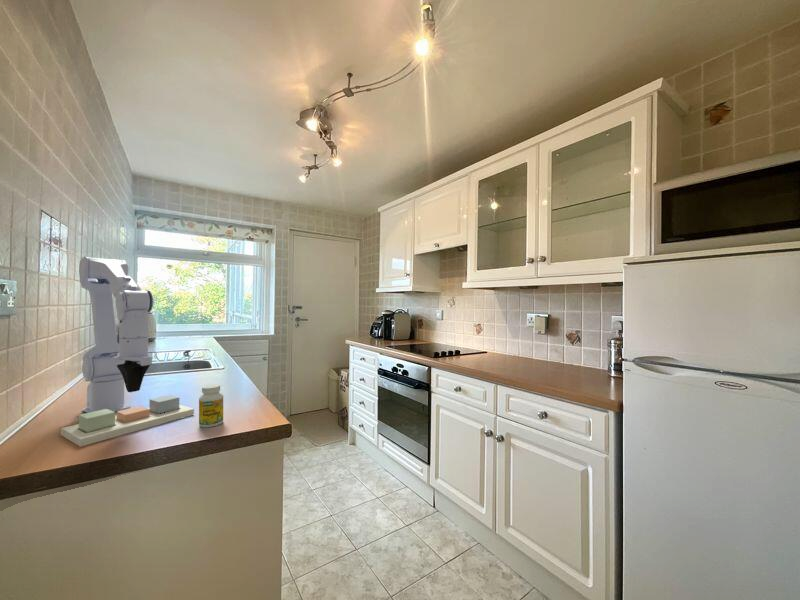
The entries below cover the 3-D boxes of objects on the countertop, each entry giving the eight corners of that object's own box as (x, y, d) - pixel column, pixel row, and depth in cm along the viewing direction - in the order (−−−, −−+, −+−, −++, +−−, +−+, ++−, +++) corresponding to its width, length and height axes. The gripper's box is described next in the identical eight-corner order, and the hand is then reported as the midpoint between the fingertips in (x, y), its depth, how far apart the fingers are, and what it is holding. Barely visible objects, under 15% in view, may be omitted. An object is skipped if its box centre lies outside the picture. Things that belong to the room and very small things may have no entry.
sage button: (78, 427, 75) (78, 414, 75) (106, 421, 79) (106, 408, 79) (86, 432, 72) (86, 418, 72) (114, 424, 77) (115, 412, 77)
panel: (61, 435, 75) (61, 428, 75) (171, 407, 95) (171, 402, 95) (80, 446, 69) (80, 439, 69) (193, 414, 89) (193, 408, 89)
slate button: (149, 410, 87) (149, 399, 87) (170, 405, 91) (170, 394, 91) (158, 413, 84) (158, 402, 84) (179, 408, 89) (179, 397, 89)
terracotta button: (116, 423, 81) (116, 411, 81) (140, 417, 85) (140, 405, 85) (125, 427, 78) (125, 414, 78) (149, 420, 83) (149, 409, 83)
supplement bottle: (222, 418, 86) (222, 382, 86) (224, 425, 81) (224, 386, 81) (198, 422, 83) (198, 385, 83) (199, 429, 78) (199, 390, 78)
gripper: (102, 337, 82) (101, 390, 82) (127, 341, 75) (126, 399, 75) (135, 334, 88) (135, 384, 88) (161, 338, 81) (161, 392, 81)
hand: (133, 391), depth 82 cm, fingers closed
